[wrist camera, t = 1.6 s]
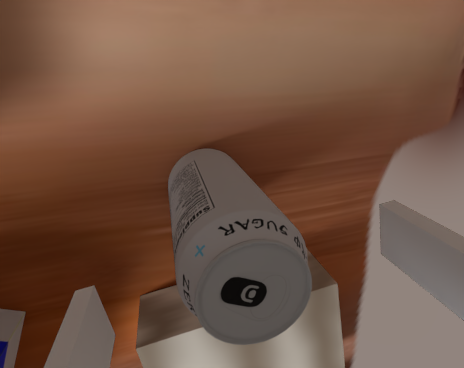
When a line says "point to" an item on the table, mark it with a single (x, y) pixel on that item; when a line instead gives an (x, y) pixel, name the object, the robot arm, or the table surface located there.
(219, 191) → the energy drink can
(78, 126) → the table surface
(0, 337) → the puzzle toy
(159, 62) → the table surface
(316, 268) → the silver flat block
